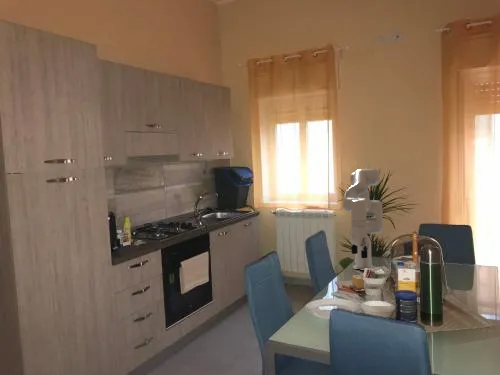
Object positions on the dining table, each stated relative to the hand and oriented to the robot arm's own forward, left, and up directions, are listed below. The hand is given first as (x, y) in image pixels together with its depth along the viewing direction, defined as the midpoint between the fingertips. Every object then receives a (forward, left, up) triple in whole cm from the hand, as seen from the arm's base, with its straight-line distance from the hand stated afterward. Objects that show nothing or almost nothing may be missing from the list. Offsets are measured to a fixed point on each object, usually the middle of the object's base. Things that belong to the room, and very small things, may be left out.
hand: (359, 255), depth 209 cm
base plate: (0, 0, -18) cm, 18 cm away
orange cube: (0, 0, -16) cm, 16 cm away
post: (0, 0, -16) cm, 16 cm away
